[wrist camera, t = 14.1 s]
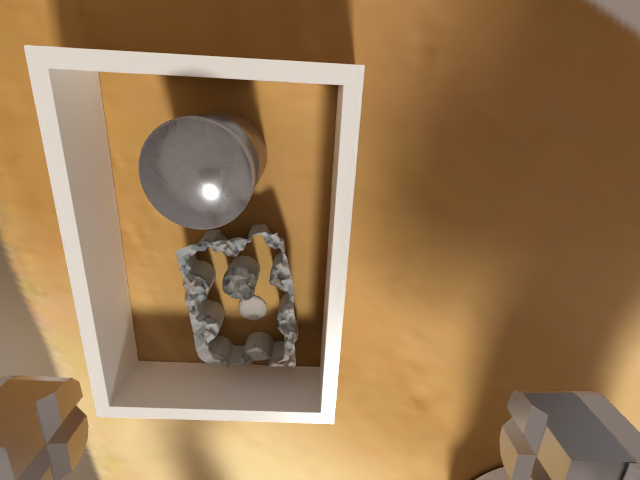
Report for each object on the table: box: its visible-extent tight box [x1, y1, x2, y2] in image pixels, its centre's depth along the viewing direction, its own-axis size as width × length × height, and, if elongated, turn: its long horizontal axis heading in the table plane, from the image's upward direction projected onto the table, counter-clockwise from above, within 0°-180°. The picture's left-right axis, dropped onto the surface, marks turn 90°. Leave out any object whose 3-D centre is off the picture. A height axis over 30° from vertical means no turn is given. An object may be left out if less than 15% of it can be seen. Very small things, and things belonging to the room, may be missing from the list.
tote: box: [24, 45, 365, 424], centre depth 27 cm, size 24×17×5 cm
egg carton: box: [176, 224, 298, 370], centre depth 29 cm, size 11×8×4 cm
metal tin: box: [139, 110, 267, 230], centre depth 23 cm, size 6×6×7 cm
